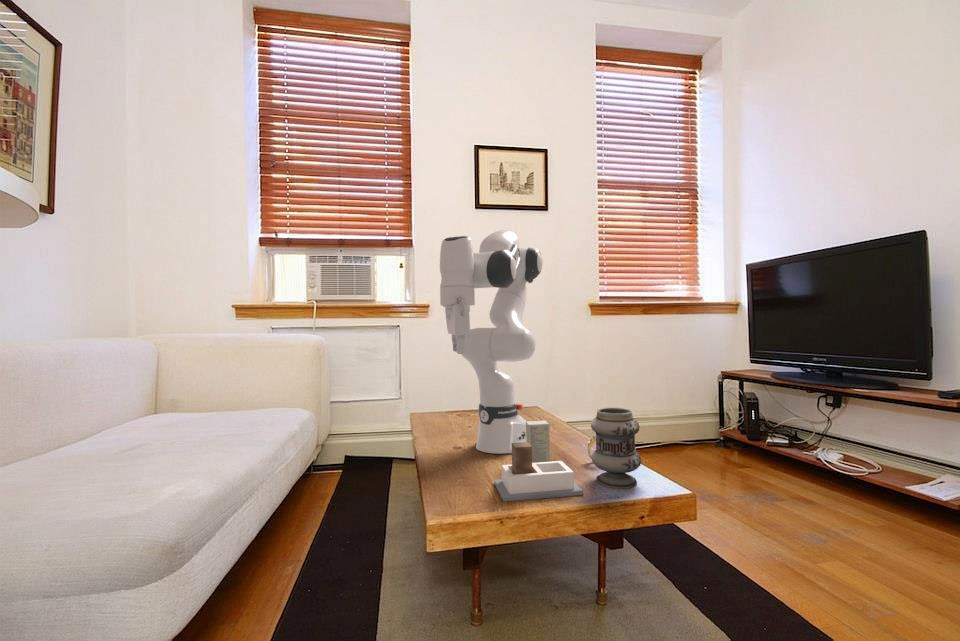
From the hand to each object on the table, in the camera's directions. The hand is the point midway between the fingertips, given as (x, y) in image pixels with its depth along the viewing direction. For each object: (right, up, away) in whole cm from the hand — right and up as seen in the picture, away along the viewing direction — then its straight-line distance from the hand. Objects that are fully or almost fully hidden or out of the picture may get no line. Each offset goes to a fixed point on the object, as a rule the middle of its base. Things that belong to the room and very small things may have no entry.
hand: (458, 352), depth 110 cm
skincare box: (+22, -33, +12) cm, 41 cm away
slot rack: (+19, -33, -6) cm, 39 cm away
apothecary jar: (+40, -33, -1) cm, 52 cm away
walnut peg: (+16, -32, -6) cm, 36 cm away
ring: (+40, -33, +14) cm, 53 cm away
